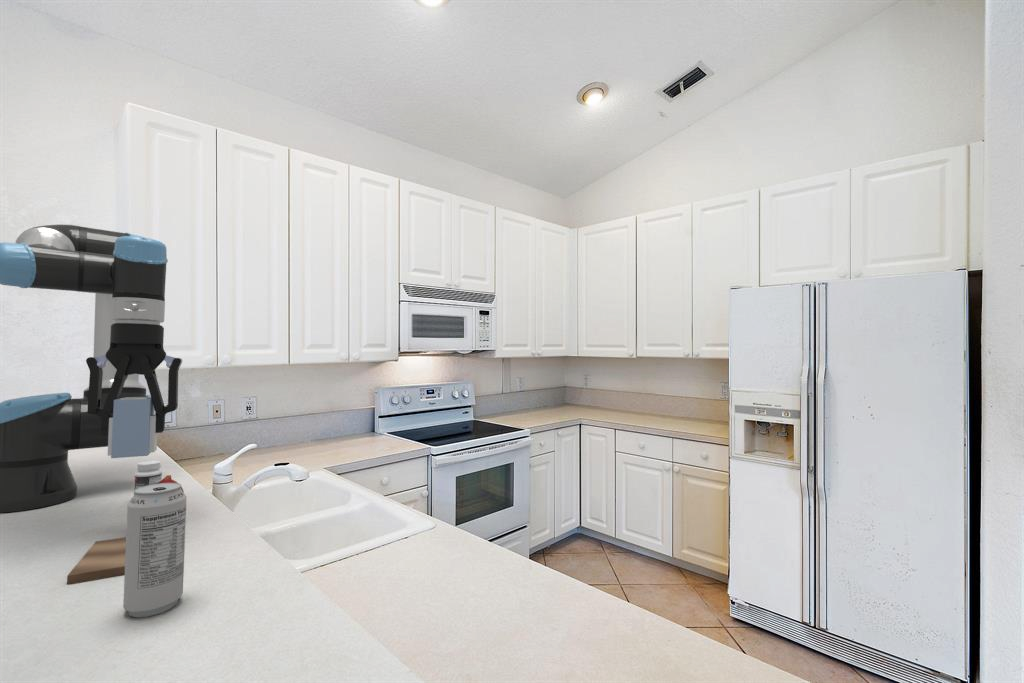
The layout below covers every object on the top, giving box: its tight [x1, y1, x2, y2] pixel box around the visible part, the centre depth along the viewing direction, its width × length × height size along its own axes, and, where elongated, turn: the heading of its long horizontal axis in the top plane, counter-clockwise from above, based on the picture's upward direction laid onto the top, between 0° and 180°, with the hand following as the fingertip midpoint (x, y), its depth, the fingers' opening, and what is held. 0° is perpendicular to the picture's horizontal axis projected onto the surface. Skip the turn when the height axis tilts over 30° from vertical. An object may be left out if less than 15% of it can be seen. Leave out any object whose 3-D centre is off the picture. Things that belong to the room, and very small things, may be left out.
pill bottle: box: [133, 460, 163, 496], centre depth 103 cm, size 5×5×8 cm
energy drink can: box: [122, 482, 187, 618], centre depth 59 cm, size 6×6×15 cm
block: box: [110, 397, 155, 459], centre depth 83 cm, size 5×5×10 cm
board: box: [66, 536, 126, 585], centre depth 73 cm, size 14×11×1 cm
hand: (132, 452), depth 83 cm, fingers closed on block, 5 cm apart
